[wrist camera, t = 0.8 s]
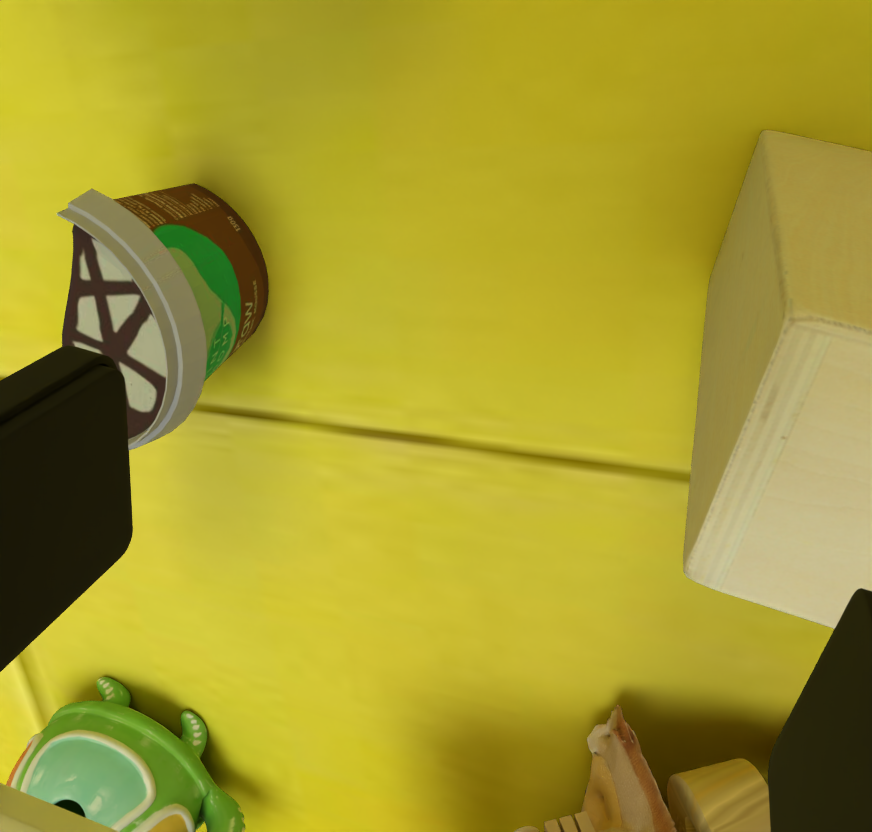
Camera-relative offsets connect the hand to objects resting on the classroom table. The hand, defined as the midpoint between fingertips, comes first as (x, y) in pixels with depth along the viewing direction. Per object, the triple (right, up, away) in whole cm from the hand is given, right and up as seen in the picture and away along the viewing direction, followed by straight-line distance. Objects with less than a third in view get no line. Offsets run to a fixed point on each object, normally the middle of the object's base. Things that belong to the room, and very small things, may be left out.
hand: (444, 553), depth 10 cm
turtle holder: (-20, -23, +53) cm, 61 cm away
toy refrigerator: (+16, +9, +23) cm, 29 cm away
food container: (-11, +8, +33) cm, 35 cm away
